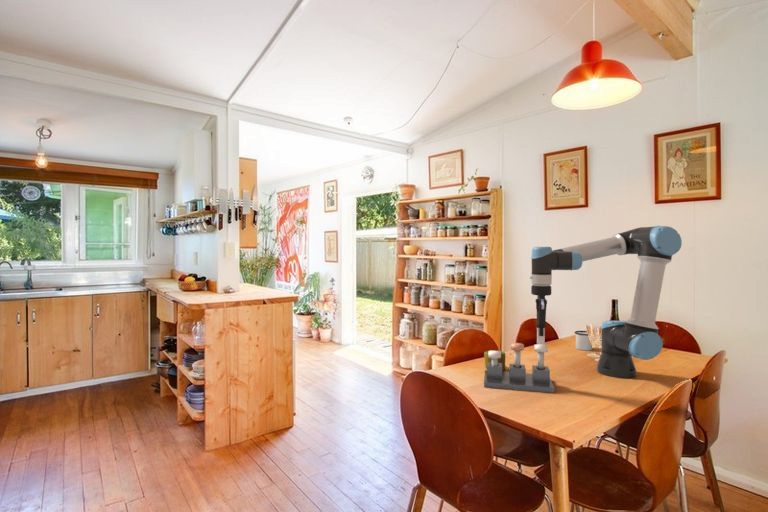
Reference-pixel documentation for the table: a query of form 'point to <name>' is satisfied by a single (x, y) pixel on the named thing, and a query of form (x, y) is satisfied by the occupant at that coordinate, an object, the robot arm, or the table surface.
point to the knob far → (494, 357)
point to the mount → (518, 378)
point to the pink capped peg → (517, 353)
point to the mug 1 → (500, 360)
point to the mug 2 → (583, 341)
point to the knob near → (540, 354)
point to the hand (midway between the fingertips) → (540, 343)
